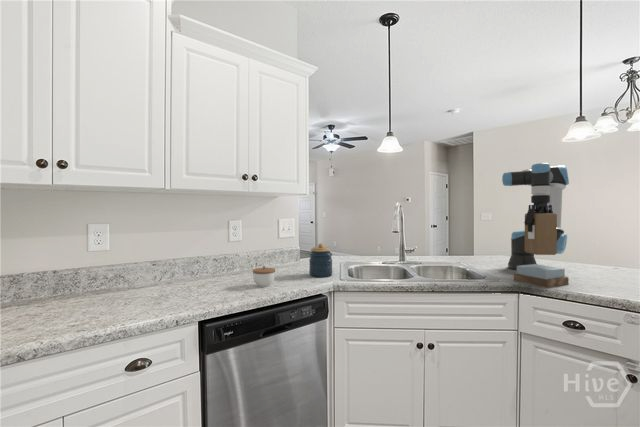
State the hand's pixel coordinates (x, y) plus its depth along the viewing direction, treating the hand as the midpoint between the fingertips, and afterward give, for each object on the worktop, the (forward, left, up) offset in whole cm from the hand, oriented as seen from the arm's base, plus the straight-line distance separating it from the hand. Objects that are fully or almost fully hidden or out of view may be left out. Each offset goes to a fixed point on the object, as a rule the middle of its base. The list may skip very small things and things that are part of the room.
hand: (540, 238), depth 152 cm
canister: (+94, -58, -22) cm, 113 cm away
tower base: (0, 0, -22) cm, 22 cm away
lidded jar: (+128, -47, -22) cm, 138 cm away
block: (0, 0, -8) cm, 8 cm away
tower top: (0, 0, -18) cm, 18 cm away
